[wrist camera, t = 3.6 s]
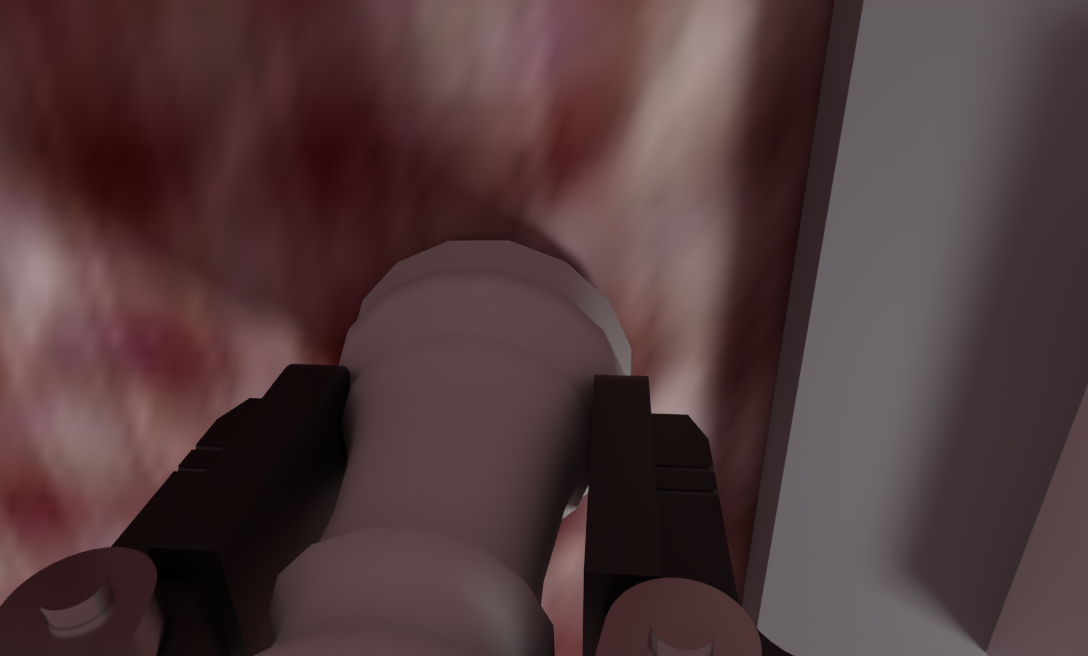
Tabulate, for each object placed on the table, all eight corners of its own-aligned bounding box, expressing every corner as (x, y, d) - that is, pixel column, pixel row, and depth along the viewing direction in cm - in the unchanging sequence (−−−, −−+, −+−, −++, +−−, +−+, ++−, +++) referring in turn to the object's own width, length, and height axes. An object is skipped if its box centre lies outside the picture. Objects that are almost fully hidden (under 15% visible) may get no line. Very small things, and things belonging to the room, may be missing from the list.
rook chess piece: (365, 201, 11) (-81, 665, 4) (662, 255, 11) (740, 819, 4) (353, 441, 13) (48, 1024, 6) (602, 487, 13) (586, 1124, 6)
